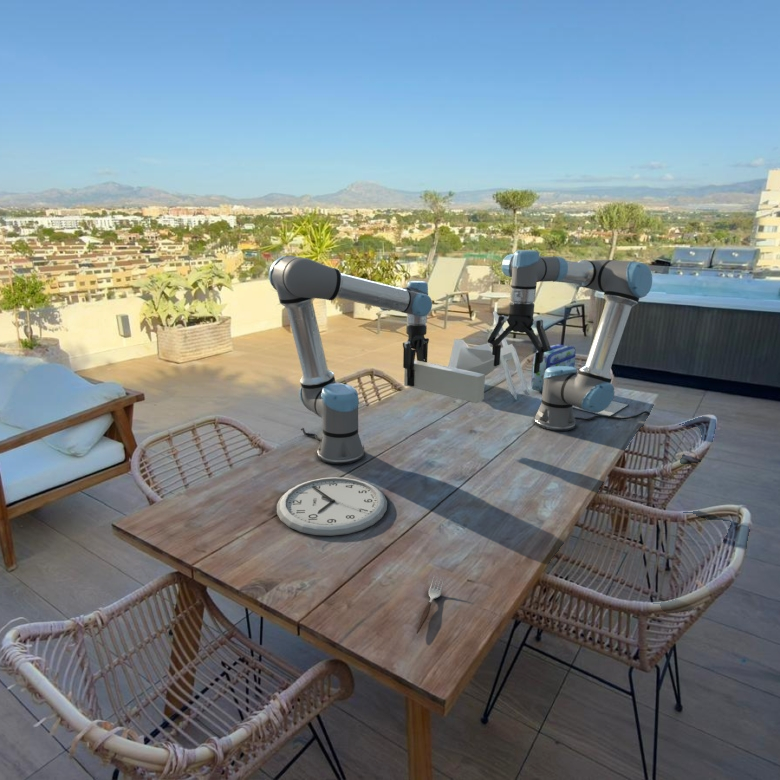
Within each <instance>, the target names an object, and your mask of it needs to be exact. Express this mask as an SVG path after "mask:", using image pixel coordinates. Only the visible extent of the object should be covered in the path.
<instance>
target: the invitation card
mask: <svg viewBox="0 0 780 780" xmlns="http://www.w3.org/2000/svg"><path fill="white" fill-rule="evenodd" d="M628 406H629V404H627V403H623V402H618V401H614V400H612V401H611V403H610V405H609V406H608V407H607V408H606V409H604V410H603V411H601V412H597V413H594V412H590V411H587V413H593V414H596V415H608V416H614V414H616V413H617V412H619V411H621V410H623V409H624V408H626V407H628ZM573 409H575V410H581V411H584V412H586V411H585V410H583V409H581V408H579V407H576V406H573Z"/></svg>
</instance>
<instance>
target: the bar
mask: <svg viewBox="0 0 780 780" xmlns="http://www.w3.org/2000/svg"><path fill="white" fill-rule="evenodd" d="M413 369H414V386H409V385H407V369H405V368H404V375H403V377H404V381H403V382H404V383H403V385H404V386H405V387H409V388H413V389H418V390H421V391H425V392H429V393H434V394H437V395H441V396H444V397H445V396H446V397H450V398H453V399H459V400H462V401H467V402H470V403H475V404H478V403H481V402H483V401H484V399H485V398H484V397H485V383H486V382H485V381H486V376H485V374H481V373H476V372H471V371H467V370H462V369H457V368H452V367H448V366H447V365H441V364H438V363H437V364H436V363H432V362H428V361H427V362H422V361H418V360H417V359H415V360H414V366H413Z"/></svg>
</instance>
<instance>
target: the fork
mask: <svg viewBox="0 0 780 780" xmlns="http://www.w3.org/2000/svg"><path fill="white" fill-rule="evenodd" d="M438 577H439V576H438V575H437V576H436V579H435V574H433V578H432V580H431V584H430V587H429V589H428V596H429V598H430V599H429V601H428V603H427V604H426V605H425V607H424V609H423V610H422V613H421V616H420V620H419V624H418V625H417V630H416V634H417V635H418V634H419V632H420V630H421V628H422V626H423V625H424V623H425V622H426V620H427V618H428V616H429V613H430V610H431V606H432V603H433V600H435V599H437V598H439V597H441V595H442V591H443V586H444V581H445V578H443V579H442V576H440V577H439V581H438ZM434 580H435V582H434ZM441 580H442V582H441ZM437 582H438V584H437ZM440 584H441V585H440Z"/></svg>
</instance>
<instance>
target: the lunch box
mask: <svg viewBox="0 0 780 780" xmlns="http://www.w3.org/2000/svg"><path fill="white" fill-rule="evenodd" d="M550 347H551V350H550V351H547V352H544V359H543V362H542V363H540V369H539V372H538V373H534V364H535V355H534V356H533V360H532V367H531V368H532V369H531V382H530V383H531V386H530V387H531V389H532V390H533V391H537V392H542V390H543V380H544V379H543V378H544V374H545V370H546V369H547V368H549V367H555V366H569V367H575V364H576V357H577V355H576V347H575V346H569V345H565V344H554V345H550ZM536 352H538V351H537V350H536Z"/></svg>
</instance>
